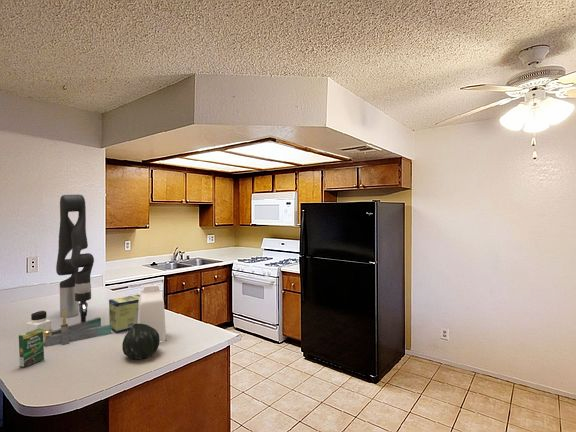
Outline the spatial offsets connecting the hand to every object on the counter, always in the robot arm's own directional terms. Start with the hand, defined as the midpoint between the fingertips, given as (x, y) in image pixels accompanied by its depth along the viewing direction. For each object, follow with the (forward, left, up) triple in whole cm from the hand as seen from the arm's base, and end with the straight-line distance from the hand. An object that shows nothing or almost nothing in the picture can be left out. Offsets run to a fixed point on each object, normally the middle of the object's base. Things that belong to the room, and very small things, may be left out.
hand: (83, 323), depth 180 cm
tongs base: (+17, -4, -2) cm, 18 cm away
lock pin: (+13, -9, +3) cm, 16 cm away
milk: (+40, +25, -2) cm, 47 cm away
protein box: (+16, +19, -2) cm, 25 cm away
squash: (+56, +17, -2) cm, 58 cm away
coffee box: (+38, -21, -2) cm, 43 cm away
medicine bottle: (+3, -19, -2) cm, 19 cm away
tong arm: (+9, -4, -1) cm, 10 cm away
